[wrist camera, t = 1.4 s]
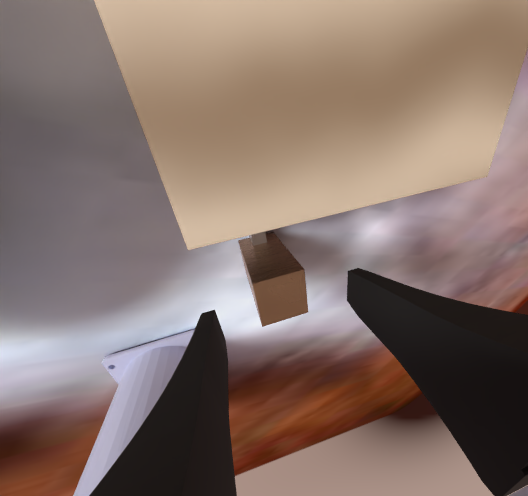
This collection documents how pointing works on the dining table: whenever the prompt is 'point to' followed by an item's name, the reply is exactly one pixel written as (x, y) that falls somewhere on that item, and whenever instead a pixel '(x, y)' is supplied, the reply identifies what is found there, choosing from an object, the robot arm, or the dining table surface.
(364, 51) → the tan slab
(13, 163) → the dining table surface
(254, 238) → the wood grain brick
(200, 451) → the robot arm
